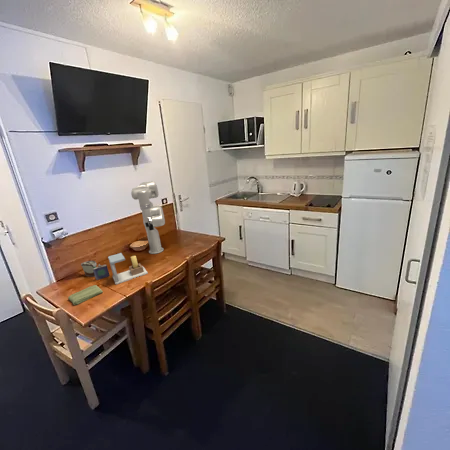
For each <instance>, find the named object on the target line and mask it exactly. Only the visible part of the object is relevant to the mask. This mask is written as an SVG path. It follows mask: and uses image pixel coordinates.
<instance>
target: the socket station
mask: <svg viewBox="0 0 450 450" xmlns="http://www.w3.org/2000/svg"><path fill="white" fill-rule="evenodd" d="M107 259H108V261H109V265H110V269H111V272H112V273H111V274H112V279H113V282H114V284H115V285H120V284H122V283H125V282H128V281H130V280H134V279H136V277H137V278H140V277H143V276H145V275H148V274H149V273H148V271H147V270H146V268H145V267H144V265H142V264H141V262H139V263H138V268H135V269H133V265H130V266H128V267H129V268H128V270H126V271H125V270H124V271H122V272H120V273H119V272H117V269H116V265H115V264H116V263H121V262H123V261H126V258H125V256H124V255H123V253H122V252H119V253H117V254H112V255H109V256H108V257H107ZM139 276H140V277H139ZM133 278H134V279H133Z"/></svg>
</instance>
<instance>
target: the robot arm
mask: <svg viewBox="0 0 450 450" xmlns="http://www.w3.org/2000/svg"><path fill="white" fill-rule="evenodd" d="M130 194H131V197H132V199H133V200H136V201H137V200H138V204H139V208H140V210H141V214H142V220H143V221H142V222H143V225H144V228H145V232H146V236H147V240H148V244H149V245H148V246H149V250H148V253H149V254H150V255H157V254H159V253H162V252H164V249H165V248H164V247H162V243H161V238H160V234H159V233H160V232H159V230H158V229H157V227H162V226H164V225H165V224H166V219H165V213H164V210H163V207H162V206H161V205H154V204H153V202H152V201H150V199H157V198H158V197H159V189H158V186H157V183H156V182H155V181H153V180H151V181H145V182H141V183H140V184H139V185H138V186H136V187H133V188H132V190H131V193H130Z"/></svg>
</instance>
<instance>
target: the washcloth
mask: <svg viewBox="0 0 450 450" xmlns="http://www.w3.org/2000/svg"><path fill="white" fill-rule="evenodd" d="M102 293H103V290H102V288H100V287H99V286H98V285H97V284H94V285H90V286H88V287H86V288H84V289H81V290H80V291H78V292H77V291H76V292H75V293H72V294H70V295H69V296H67V297H68V298H67V299H68V300H69V301H70V302H71V303H72V305H74V306H78V305H80V304H82V303H84V302H86V301H88V300H90V299H92V298H95V297H96V296H98V295H101V294H102Z"/></svg>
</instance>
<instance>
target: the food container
mask: <svg viewBox="0 0 450 450" xmlns="http://www.w3.org/2000/svg"><path fill="white" fill-rule="evenodd" d="M80 266H81V267H82V269H83V273H84V274H85V276H86V277H94V278H95V275H94V271H93V269H94V268H96V267H97V266H98V264H97V262H96V261H95V260H87V261H84V262H81V263H80Z"/></svg>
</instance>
